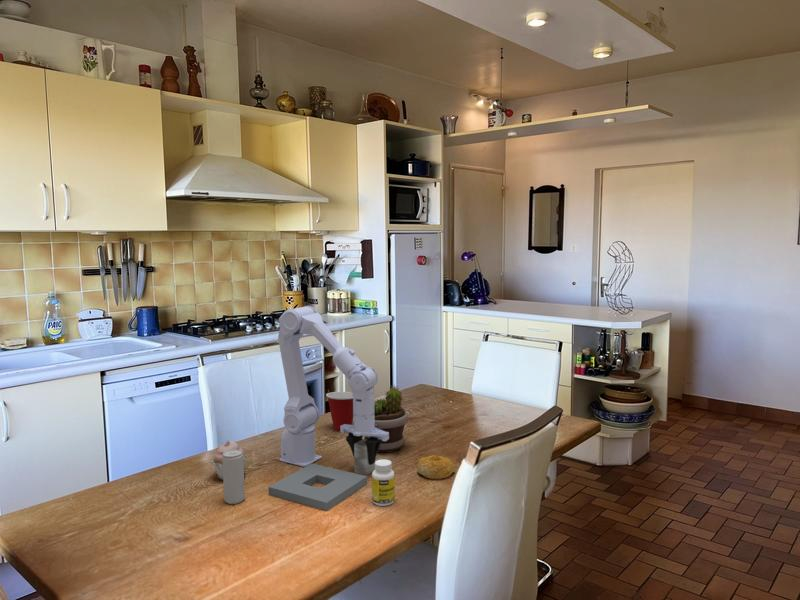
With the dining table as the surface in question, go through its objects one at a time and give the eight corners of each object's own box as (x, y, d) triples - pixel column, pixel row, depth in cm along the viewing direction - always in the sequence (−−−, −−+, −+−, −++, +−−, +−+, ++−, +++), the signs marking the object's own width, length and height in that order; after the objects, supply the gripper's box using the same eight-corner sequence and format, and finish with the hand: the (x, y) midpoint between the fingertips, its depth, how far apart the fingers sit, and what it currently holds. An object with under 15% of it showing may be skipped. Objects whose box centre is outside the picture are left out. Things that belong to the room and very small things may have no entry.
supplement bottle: (378, 508, 134) (377, 468, 133) (368, 499, 139) (367, 460, 138) (398, 503, 136) (398, 464, 135) (388, 494, 141) (388, 456, 140)
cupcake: (205, 476, 153) (203, 440, 152) (236, 466, 160) (235, 431, 159) (223, 486, 147) (222, 448, 146) (255, 475, 154) (253, 439, 153)
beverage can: (239, 505, 136) (237, 457, 135) (220, 504, 137) (218, 455, 136) (248, 497, 141) (246, 449, 140) (230, 495, 142) (228, 448, 141)
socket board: (268, 494, 142) (268, 486, 142) (312, 470, 157) (312, 463, 156) (326, 511, 133) (326, 502, 133) (367, 483, 148) (367, 476, 147)
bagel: (463, 471, 155) (462, 454, 155) (437, 484, 147) (437, 466, 147) (434, 462, 162) (434, 446, 161) (409, 475, 154) (408, 457, 153)
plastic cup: (365, 426, 193) (365, 392, 191) (346, 436, 184) (345, 399, 182) (340, 421, 199) (339, 387, 197) (320, 430, 189) (319, 395, 188)
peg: (354, 472, 155) (354, 443, 154) (362, 467, 158) (362, 439, 158) (367, 475, 153) (366, 446, 152) (375, 470, 156) (374, 441, 156)
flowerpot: (351, 452, 169) (349, 386, 167) (372, 436, 183) (371, 375, 181) (396, 459, 164) (395, 391, 162) (415, 441, 178) (414, 378, 176)
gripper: (333, 413, 154) (334, 461, 156) (378, 421, 147) (379, 472, 148) (348, 406, 160) (349, 453, 162) (392, 414, 153) (393, 463, 154)
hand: (364, 461), depth 155 cm, fingers closed on peg, 4 cm apart
